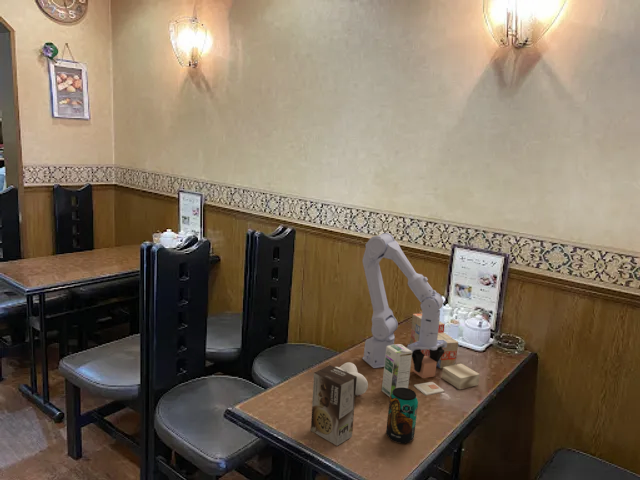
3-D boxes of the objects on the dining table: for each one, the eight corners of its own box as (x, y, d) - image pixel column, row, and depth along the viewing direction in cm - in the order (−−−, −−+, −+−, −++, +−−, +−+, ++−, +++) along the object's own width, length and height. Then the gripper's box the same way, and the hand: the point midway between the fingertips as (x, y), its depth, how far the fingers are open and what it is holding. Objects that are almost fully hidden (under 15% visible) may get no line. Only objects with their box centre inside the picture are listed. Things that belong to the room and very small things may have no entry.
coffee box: (353, 436, 119) (358, 376, 116) (336, 447, 114) (341, 385, 111) (325, 421, 125) (330, 363, 122) (309, 430, 120) (313, 371, 117)
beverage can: (381, 437, 119) (385, 393, 117) (393, 425, 125) (397, 383, 122) (407, 448, 115) (412, 403, 113) (418, 435, 121) (423, 392, 119)
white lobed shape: (318, 387, 142) (320, 359, 140) (355, 384, 146) (357, 356, 144) (330, 407, 131) (333, 377, 130) (370, 403, 135) (373, 374, 134)
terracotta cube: (422, 378, 152) (424, 364, 152) (413, 371, 157) (414, 357, 156) (435, 376, 155) (436, 362, 154) (425, 369, 159) (427, 355, 158)
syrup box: (380, 390, 143) (385, 345, 140) (396, 387, 145) (401, 343, 143) (391, 400, 138) (396, 353, 135) (408, 396, 140) (413, 350, 138)
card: (425, 395, 141) (425, 393, 141) (413, 386, 147) (414, 384, 147) (444, 391, 144) (444, 390, 144) (432, 382, 150) (432, 381, 150)
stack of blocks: (455, 367, 162) (459, 333, 160) (439, 369, 160) (443, 334, 158) (423, 342, 182) (427, 312, 180) (409, 343, 180) (412, 313, 178)
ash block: (459, 390, 147) (460, 378, 146) (441, 378, 154) (442, 367, 153) (478, 385, 150) (479, 374, 150) (459, 374, 157) (461, 363, 157)
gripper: (418, 337, 146) (413, 378, 149) (455, 332, 152) (450, 372, 155) (405, 329, 153) (400, 368, 155) (440, 325, 159) (436, 362, 161)
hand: (424, 369), depth 155 cm, fingers open, 5 cm apart
